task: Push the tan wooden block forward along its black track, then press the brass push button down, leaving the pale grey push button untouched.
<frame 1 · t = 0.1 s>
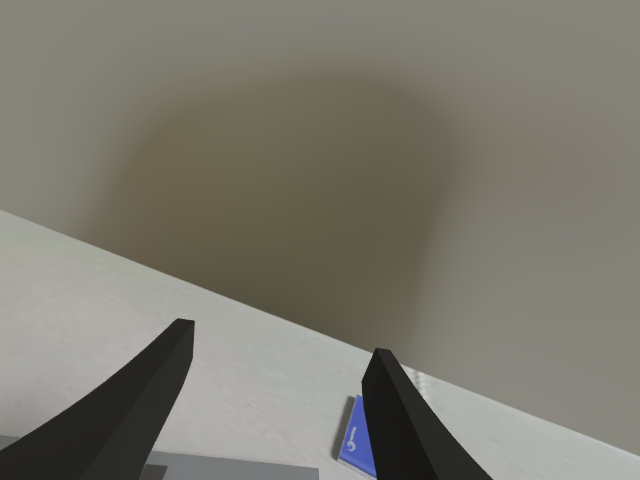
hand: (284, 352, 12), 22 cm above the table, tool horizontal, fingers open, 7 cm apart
hard drive: (398, 458, 32), on the table
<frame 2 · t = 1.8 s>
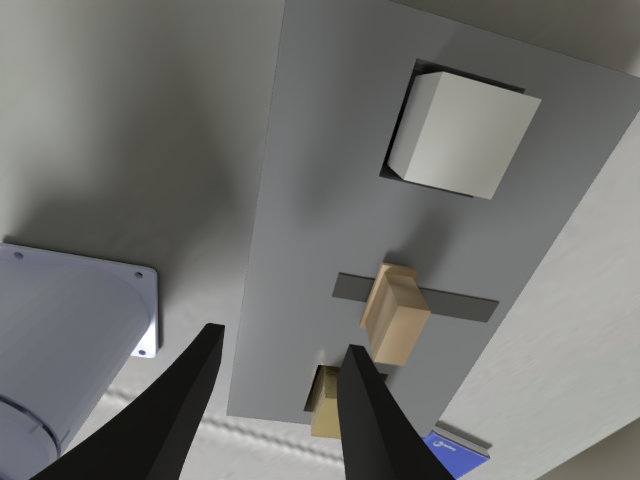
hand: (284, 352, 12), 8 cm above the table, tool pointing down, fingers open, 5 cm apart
brass button: (345, 399, 21), point 3 cm above the table, slide at 0.0 cm
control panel: (374, 266, 20), on the table
tan wooden block: (393, 315, 15), point 5 cm above the table, slide at 0.0 cm
hard drive: (414, 458, 32), on the table
grey button: (452, 136, 13), point 4 cm above the table, slide at 0.0 cm
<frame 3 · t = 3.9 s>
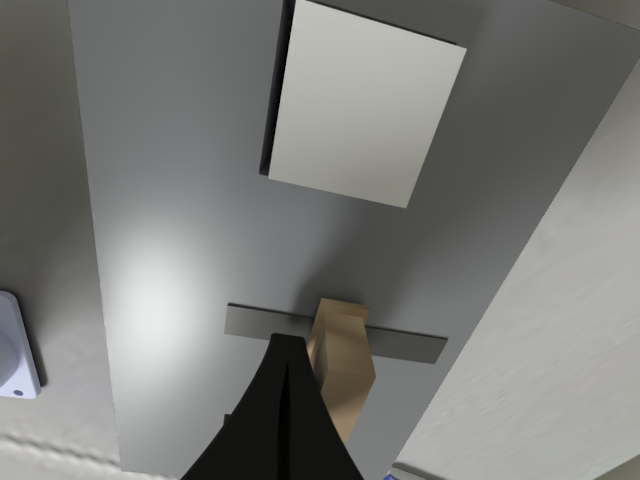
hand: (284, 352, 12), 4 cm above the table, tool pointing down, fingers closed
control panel: (297, 288, 16), on the table
tan wooden block: (334, 371, 12), point 5 cm above the table, slide at 1.7 cm, touching gripper
grey button: (351, 114, 9), point 4 cm above the table, slide at 0.0 cm
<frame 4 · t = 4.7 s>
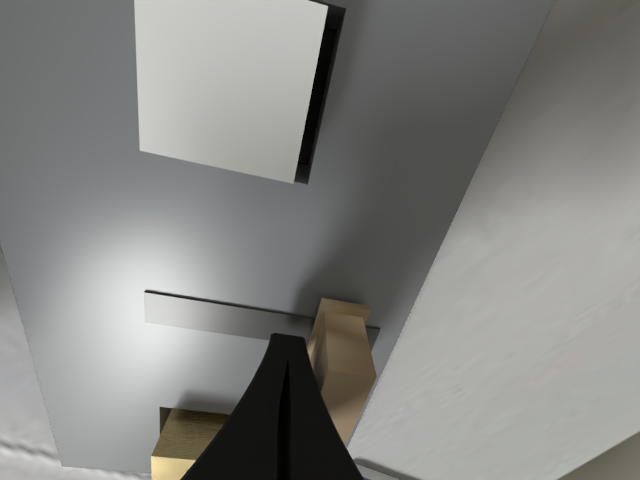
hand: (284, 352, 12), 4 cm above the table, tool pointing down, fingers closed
brass button: (203, 449, 16), point 3 cm above the table, slide at 0.0 cm
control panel: (235, 278, 15), on the table
tan wooden block: (335, 371, 11), point 5 cm above the table, slide at 5.0 cm, touching gripper
grey button: (239, 85, 8), point 4 cm above the table, slide at 0.0 cm
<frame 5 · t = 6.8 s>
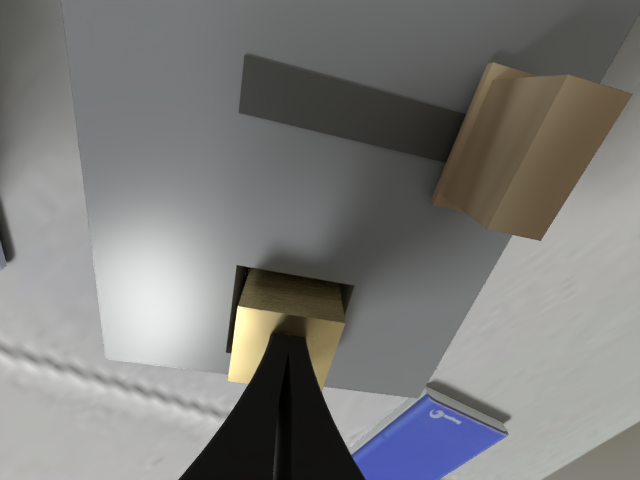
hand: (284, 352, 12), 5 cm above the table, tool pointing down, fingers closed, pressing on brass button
brass button: (286, 326, 13), point 3 cm above the table, slide at 0.1 cm, touching gripper
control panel: (330, 105, 12), on the table
tan wooden block: (512, 155, 8), point 5 cm above the table, slide at 5.0 cm
hard drive: (406, 438, 24), on the table
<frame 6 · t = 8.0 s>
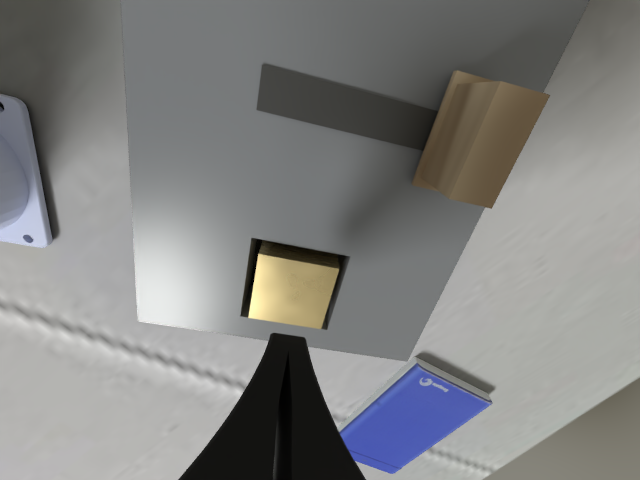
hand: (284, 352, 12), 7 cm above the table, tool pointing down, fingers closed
brass button: (293, 277, 17), point 2 cm above the table, slide at 1.4 cm
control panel: (330, 104, 14), on the table
tan wooden block: (471, 143, 11), point 5 cm above the table, slide at 5.0 cm
hard drive: (400, 409, 26), on the table
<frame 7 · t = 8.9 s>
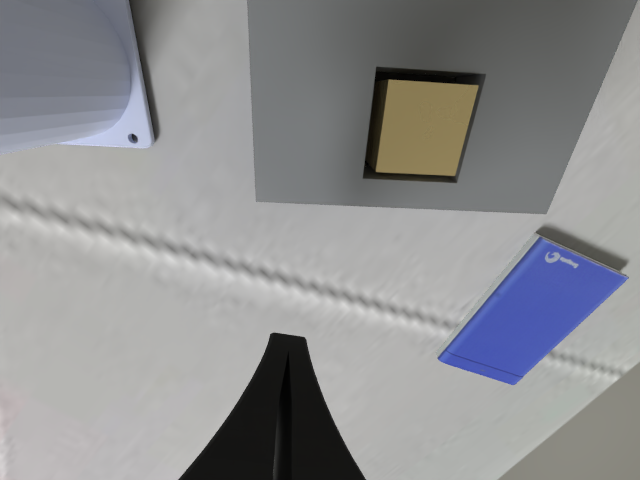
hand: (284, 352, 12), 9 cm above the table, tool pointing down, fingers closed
brass button: (414, 127, 15), point 2 cm above the table, slide at 1.4 cm
hard drive: (514, 308, 24), on the table
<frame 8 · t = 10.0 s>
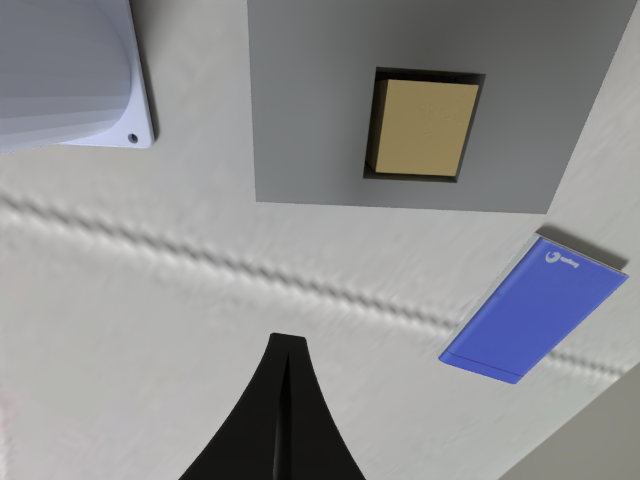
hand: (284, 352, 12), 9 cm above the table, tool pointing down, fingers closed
brass button: (414, 127, 15), point 2 cm above the table, slide at 1.4 cm
hard drive: (515, 308, 24), on the table
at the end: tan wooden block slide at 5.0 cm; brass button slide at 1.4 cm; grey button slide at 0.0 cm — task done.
